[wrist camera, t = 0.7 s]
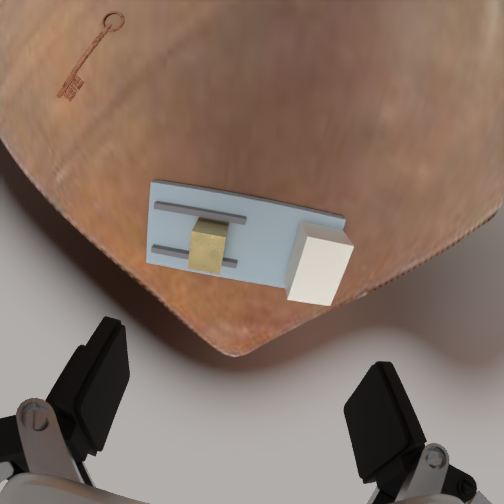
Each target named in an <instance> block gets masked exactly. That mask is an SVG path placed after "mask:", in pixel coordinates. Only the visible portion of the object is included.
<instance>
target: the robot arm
mask: <svg viewBox="0 0 504 504" xmlns="http://www.w3.org/2000/svg"><path fill="white" fill-rule="evenodd" d="M129 377H130V371H129V362H128V354H127V342H126V330H125V326H124V325H121V321H120V320H117V319H114V318H110V317H107V316H105V317H104V318H103V320H102V321H101V323H100V324H99V326H98V327H97V329H96V330H95V332H94V333H93V335H92V336H91V338H90V340H89V341H88V343H87V344H86V346H84V345H80V346H78V348H77V349H76V350H75V352H74V354H73V355H72V357H71V358H70V360H69V361H68V363H67V365H66V367H65V368H64V370H63V371H62V373H61V375H60V376H59V378H58V380H57V381H56V383H55V385H54V386H53V388H52V390H51V392H50V394H49V395H48V397H47V399H46V400H45V401H44V400H42V399H38V398H31V399H28V400H25V401H24V402H22V403H21V404H20V406H19V407H18V409H17V413H16V415H13V416H9V417H5V418H0V482H2V481H3V480H5V479H7V480H9V481H8V482H7V483H6V485H5V486H4V488H3V490H2V491H1V493H0V504H149V503H145V502H141V501H137V500H133V499H130V498H126V497H123V496H120V495H116V494H114V493H110V492H108V491H105V490H101V489H98V488H96V487H95V485H94V483H93V481H92V479H91V477H90V475H89V473H88V470H87V468H86V466H85V464H84V462H83V461H85V459H86V457H87V454H91V455H93V456H96V454H97V451H102V450H103V447H104V445H105V442H106V439H107V436H108V433H109V431H110V428H111V425H112V422H113V420H114V417H115V414H116V412H117V409H118V406H119V404H120V401H121V399H122V396H123V394H124V391H125V389H126V386H127V384H128V381H129ZM344 415H345V419H346V423H347V427H348V431H349V435H350V438H351V442H352V447H353V451H354V455H355V460H356V464H357V468H358V473H359V476H360V478H362V479H363V483H364V484H366V483H372V482H375V481H376V483H377V487H376V489H375V491H374V492H373V494H372V496H371V498H370V500H369V501H368V503H367V504H491V502H490V501H488V500H487V498H486V497H484V495H483V494H481V492H480V491H478V492H476V490H477V487H476V482H475V480H474V479H473V477H471V476H470V475H468V474H466V473H464V472H463V471H461V470H459V469H457V468H455V467H453V466H452V465H450V464H449V455H448V453H447V451H446V449H445V448H444V447H442V446H441V445H439V444H437V443H431V444H428V445H427V446H426V447H425V444H424V443H425V442H427V441H426V438H425V436H424V433H423V431H422V428H421V426H420V424H419V421H418V419H417V416H416V414H415V412H414V409H413V407H412V405H411V403H410V400H409V398H408V396H407V394H406V391H405V389H404V387H403V385H402V383H401V381H400V378H399V376H398V375H397V372H396V370H395V368H394V366H393V364H392V363H391V362H382V361H378V362H376V363H375V364H374V365H372V366H371V367H370V369H369V370H368V372H367V373H366V375H365V376H364V378H363V379H362V381H361V382H360V384H359V385H358V387H357V388H356V390H355V391H354V393H353V394H352V396H351V397H350V398H349V399H348V401H347V402H346V404H345V406H344Z"/></svg>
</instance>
